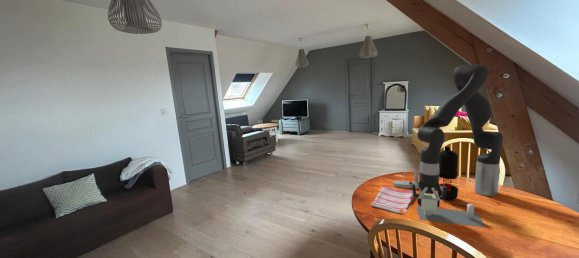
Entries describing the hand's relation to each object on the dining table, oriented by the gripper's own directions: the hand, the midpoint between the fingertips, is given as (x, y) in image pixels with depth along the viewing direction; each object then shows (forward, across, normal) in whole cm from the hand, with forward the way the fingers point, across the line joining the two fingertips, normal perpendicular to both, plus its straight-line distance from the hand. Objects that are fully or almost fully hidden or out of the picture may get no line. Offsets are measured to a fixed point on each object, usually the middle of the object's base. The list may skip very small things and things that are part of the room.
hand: (428, 206), depth 107 cm
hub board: (+5, +8, 0) cm, 10 cm away
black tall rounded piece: (+5, +12, +19) cm, 23 cm away
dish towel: (+6, -14, +12) cm, 20 cm away
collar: (0, 0, 0) cm, 0 cm away
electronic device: (+6, -6, +32) cm, 33 cm away
